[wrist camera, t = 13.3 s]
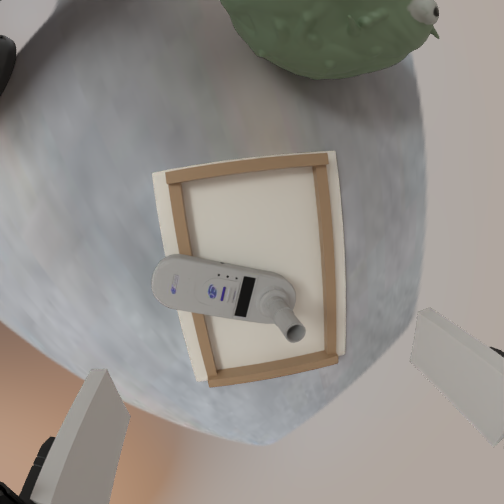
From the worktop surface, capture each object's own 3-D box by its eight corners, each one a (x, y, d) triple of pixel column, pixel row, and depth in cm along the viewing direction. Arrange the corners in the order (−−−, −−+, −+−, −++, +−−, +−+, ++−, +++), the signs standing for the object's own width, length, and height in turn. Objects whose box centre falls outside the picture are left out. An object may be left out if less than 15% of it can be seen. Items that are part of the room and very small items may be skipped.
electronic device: (142, 273, 19) (333, 306, 22) (159, 247, 28) (294, 274, 31) (135, 339, 19) (314, 362, 23) (151, 295, 29) (281, 317, 32)
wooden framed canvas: (153, 173, 28) (147, 171, 25) (332, 151, 30) (342, 148, 27) (197, 378, 34) (196, 391, 31) (342, 351, 36) (350, 362, 33)
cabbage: (219, -3, 24) (227, -117, 4) (358, 15, 26) (437, -59, 6) (215, 98, 27) (213, -23, 8) (372, 111, 29) (496, 65, 10)
